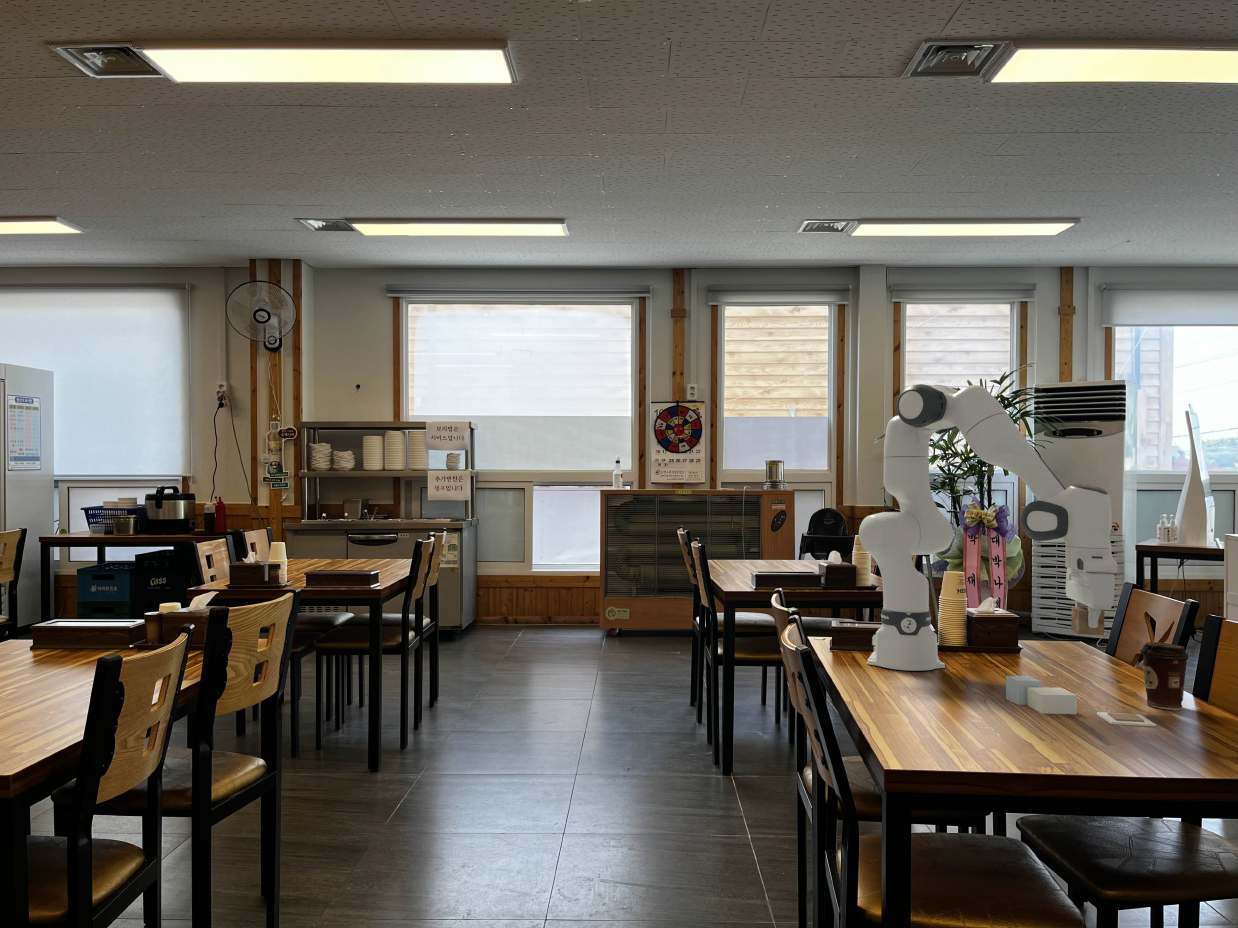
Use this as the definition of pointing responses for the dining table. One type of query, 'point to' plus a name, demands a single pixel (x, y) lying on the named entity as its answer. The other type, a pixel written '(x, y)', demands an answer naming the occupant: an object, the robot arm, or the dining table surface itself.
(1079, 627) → the walnut cube
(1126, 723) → the tile
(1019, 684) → the grey cube
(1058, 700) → the plinth block
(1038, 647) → the dining table surface
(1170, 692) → the coffee cup
